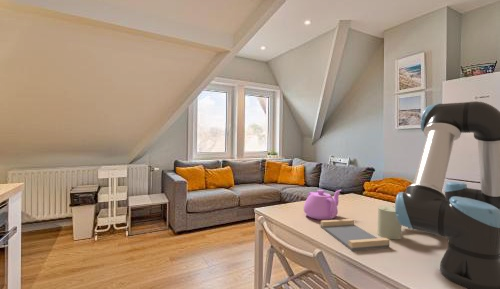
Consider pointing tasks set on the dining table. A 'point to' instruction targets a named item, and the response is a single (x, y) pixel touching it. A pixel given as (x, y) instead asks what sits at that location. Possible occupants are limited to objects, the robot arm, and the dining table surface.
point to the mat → (353, 235)
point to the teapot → (321, 205)
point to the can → (388, 223)
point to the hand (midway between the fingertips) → (395, 219)
